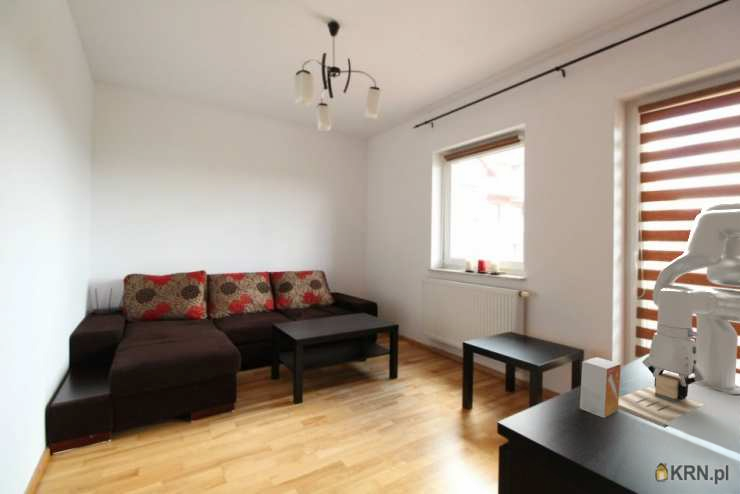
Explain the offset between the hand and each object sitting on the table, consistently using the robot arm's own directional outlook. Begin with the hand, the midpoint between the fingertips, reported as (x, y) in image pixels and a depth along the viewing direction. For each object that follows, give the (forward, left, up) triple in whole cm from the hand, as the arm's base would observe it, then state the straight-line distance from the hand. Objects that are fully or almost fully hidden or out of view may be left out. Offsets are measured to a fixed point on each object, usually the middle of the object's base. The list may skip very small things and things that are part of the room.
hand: (670, 393), depth 103 cm
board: (+8, 0, -2) cm, 8 cm away
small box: (+25, -6, -2) cm, 26 cm away
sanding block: (0, 0, -1) cm, 1 cm away
